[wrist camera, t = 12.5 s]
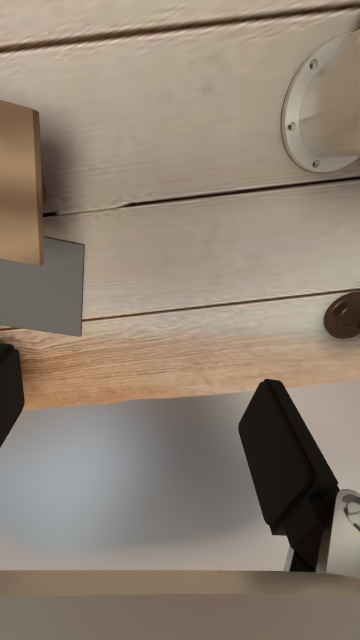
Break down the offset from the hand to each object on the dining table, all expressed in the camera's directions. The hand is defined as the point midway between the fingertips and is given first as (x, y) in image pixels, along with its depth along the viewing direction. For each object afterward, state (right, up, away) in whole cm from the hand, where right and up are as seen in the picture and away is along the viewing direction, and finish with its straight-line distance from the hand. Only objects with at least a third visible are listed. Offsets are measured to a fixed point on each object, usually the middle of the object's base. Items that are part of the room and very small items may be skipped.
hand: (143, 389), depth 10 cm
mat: (-22, +8, +29) cm, 37 cm away
